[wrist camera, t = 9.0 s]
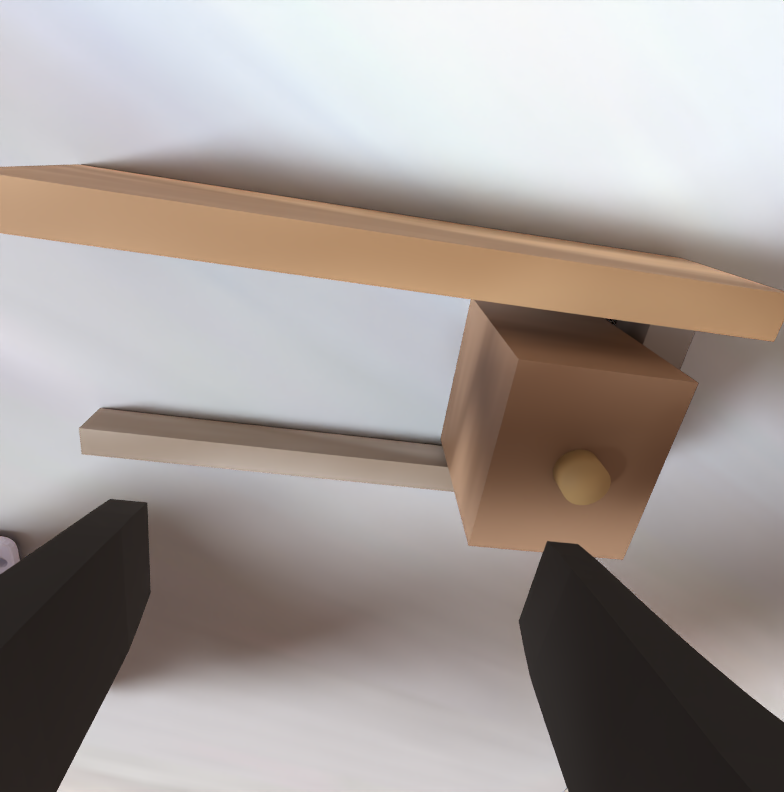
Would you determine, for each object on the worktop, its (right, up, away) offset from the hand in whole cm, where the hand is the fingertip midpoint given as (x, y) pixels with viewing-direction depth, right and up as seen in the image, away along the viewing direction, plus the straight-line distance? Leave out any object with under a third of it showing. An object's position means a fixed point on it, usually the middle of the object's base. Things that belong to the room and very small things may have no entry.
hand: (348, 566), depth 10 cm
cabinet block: (+5, +4, +9) cm, 11 cm away
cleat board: (0, +5, +8) cm, 10 cm away
